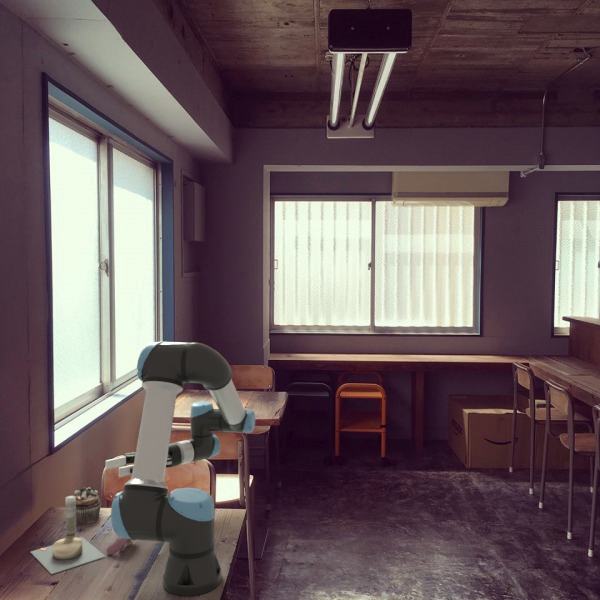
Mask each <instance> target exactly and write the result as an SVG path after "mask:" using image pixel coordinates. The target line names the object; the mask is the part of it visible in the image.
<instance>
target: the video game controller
mask: <svg viewBox="0 0 600 600" xmlns="http://www.w3.org/2000/svg"><path fill="white" fill-rule="evenodd" d="M132 541H133V540H131V539H125V538H121V537H119V536H117V538H116V540H115V541H114V542H113V543H111V544H110V545H109V546H107V548H106V554H107V555H111V556H113V555H115V554H116V553H117V554H118V552H119V551H120V552H123V551H124V550H125V549H126V547H127V548H128V547H129V546H130V545H131V543H132Z"/></svg>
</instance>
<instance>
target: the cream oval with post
mask: <svg viewBox="0 0 600 600" xmlns="http://www.w3.org/2000/svg"><path fill="white" fill-rule="evenodd" d="M64 498H65V535H66V536H65V537H64V538H62V539H58V540H56V541H55V542H53V544H52V554H53V557H54V558H55V559H60V560H65V559H71V558H74V557H77V556H79V555H80V554H81V553H82V540H81V539H79V538H78V537H77V523H76V497H75V496H74V495H68V496H65V497H64Z"/></svg>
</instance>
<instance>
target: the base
mask: <svg viewBox="0 0 600 600" xmlns="http://www.w3.org/2000/svg"><path fill="white" fill-rule="evenodd" d="M77 538H79V539H81V540H82V553H81V554H80V555H79V556H77V557H74V558H71V559H65V560H60V559H55V558H54V557H53V554H52V545H53V544H52V545H48V546H45V547H40V548H38V549H35V550H31V551H30V554H31V555H32V556H33V557H34V558H35V559H36V560H37V561H38V563H39V564H41V566H43V568H44V569H45V570H46V571H47V572H48V573H49V574H50V575H51V576H52V575H56V574H60V573H62V572H64V571H65V572H66V571H68V570H72V569H74V568H78V567H80V566H84V565H87V564H90V563H92V562H95V561H99V560H102V559H105V558H106V555H104V554H103V553H102V552H101V551H100V550H99V549H97V548H96V547H95V546H94V545H92V544H91V542H89V541H88V540H87V539H85V538H84V537H83V536H79V537H77Z"/></svg>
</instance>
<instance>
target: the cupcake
mask: <svg viewBox="0 0 600 600" xmlns="http://www.w3.org/2000/svg"><path fill="white" fill-rule="evenodd" d="M73 493H74V495H73V496H75V497H76V524H77V523H88V524H90V523H91V522H92V523H94V522H96V521H98V520H99V518H100V511H101V507H102V501H101V499H100V497H99V495H98V490H96V489H95V488H93V487H92V488H91V487H90V486H89V485H88V486H84V487H82V488H77V489H76V490H74V492H73ZM97 519H98V520H97ZM95 520H96V521H95ZM93 521H94V522H93ZM92 523H91V524H92Z"/></svg>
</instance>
